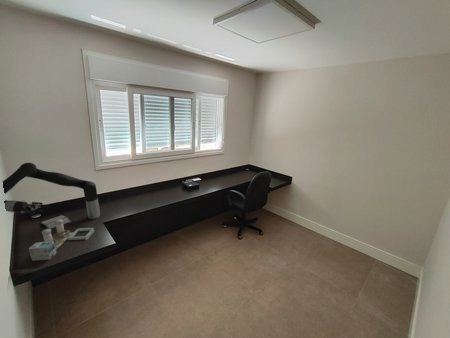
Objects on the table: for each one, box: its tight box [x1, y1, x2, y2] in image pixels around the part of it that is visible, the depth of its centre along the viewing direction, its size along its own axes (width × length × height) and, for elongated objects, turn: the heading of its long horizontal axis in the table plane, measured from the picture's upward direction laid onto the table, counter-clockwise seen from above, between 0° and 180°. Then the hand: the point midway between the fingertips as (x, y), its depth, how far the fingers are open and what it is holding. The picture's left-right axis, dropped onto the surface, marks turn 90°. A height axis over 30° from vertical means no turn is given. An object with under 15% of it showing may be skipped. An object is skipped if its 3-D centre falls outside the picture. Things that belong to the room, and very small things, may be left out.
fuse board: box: [52, 229, 75, 251], centre depth 144 cm, size 21×12×4 cm, turn 9°
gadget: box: [40, 215, 72, 230], centre depth 168 cm, size 23×15×4 cm, turn 57°
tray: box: [67, 227, 95, 242], centre depth 153 cm, size 12×12×4 cm
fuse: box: [41, 228, 53, 242], centre depth 136 cm, size 5×5×13 cm
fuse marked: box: [55, 219, 66, 235], centre depth 149 cm, size 5×5×13 cm
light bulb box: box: [28, 241, 57, 262], centre depth 128 cm, size 11×7×11 cm, turn 100°
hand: (45, 209), depth 140 cm, fingers open, 8 cm apart
